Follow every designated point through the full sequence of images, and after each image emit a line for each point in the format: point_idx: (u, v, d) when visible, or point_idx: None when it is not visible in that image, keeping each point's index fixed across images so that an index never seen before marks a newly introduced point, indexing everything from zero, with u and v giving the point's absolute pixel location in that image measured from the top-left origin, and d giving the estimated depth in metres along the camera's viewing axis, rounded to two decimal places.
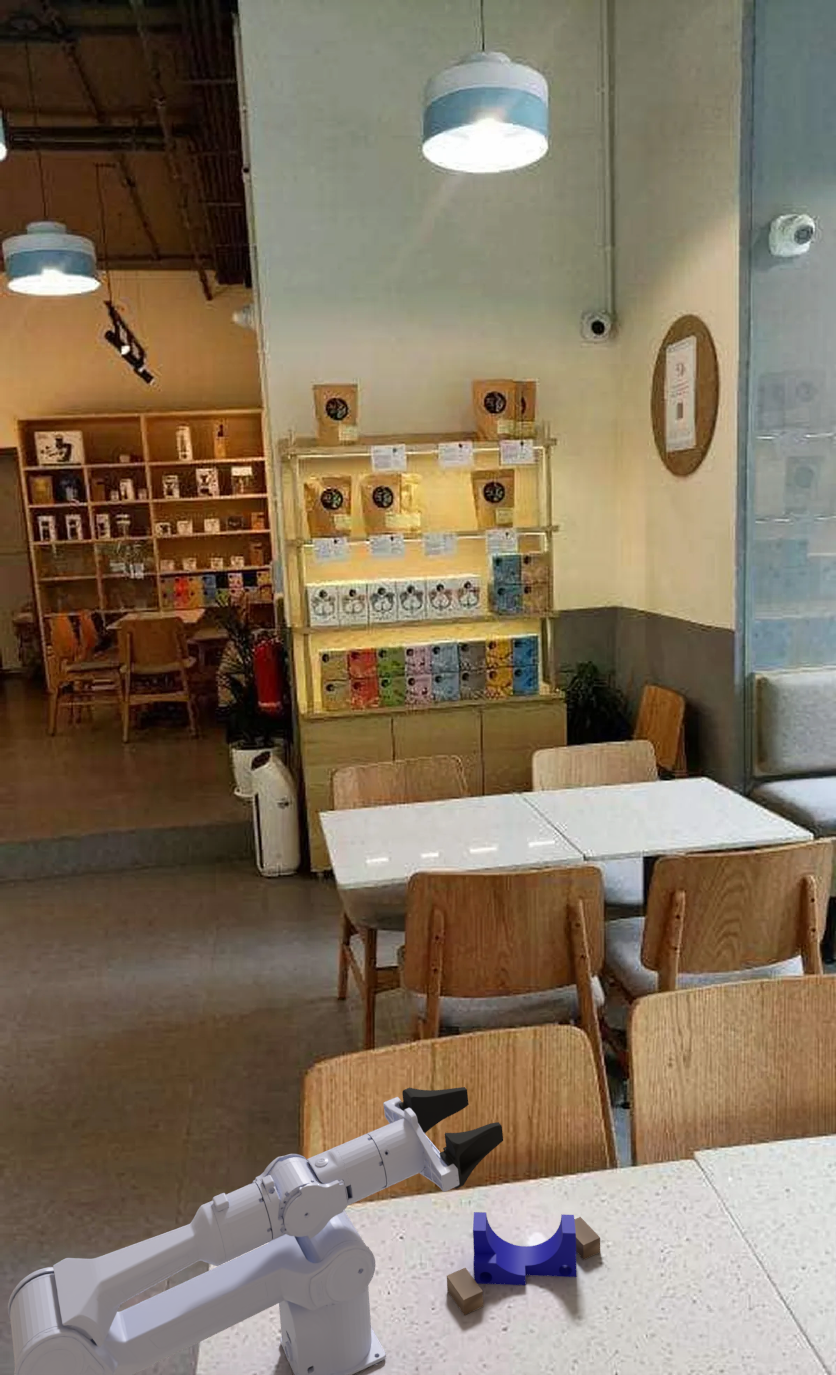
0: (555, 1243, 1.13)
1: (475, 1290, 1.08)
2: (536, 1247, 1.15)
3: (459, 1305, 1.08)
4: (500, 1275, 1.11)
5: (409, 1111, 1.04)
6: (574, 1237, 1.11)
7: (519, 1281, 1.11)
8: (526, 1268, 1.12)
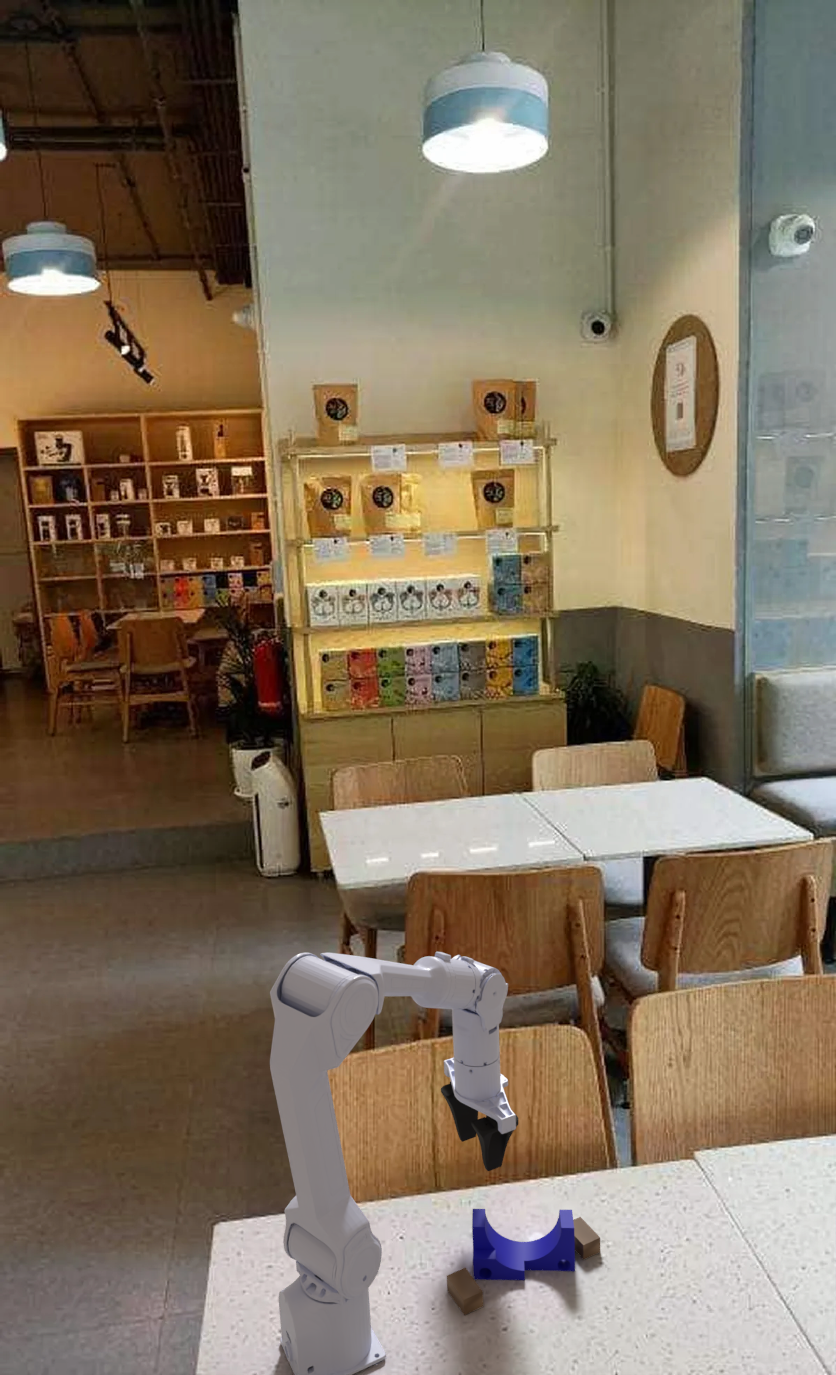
0: (554, 1238, 1.14)
1: (475, 1290, 1.08)
2: (534, 1242, 1.15)
3: (459, 1305, 1.08)
4: (499, 1271, 1.12)
5: None
6: (573, 1232, 1.12)
7: (518, 1277, 1.12)
8: (525, 1263, 1.13)
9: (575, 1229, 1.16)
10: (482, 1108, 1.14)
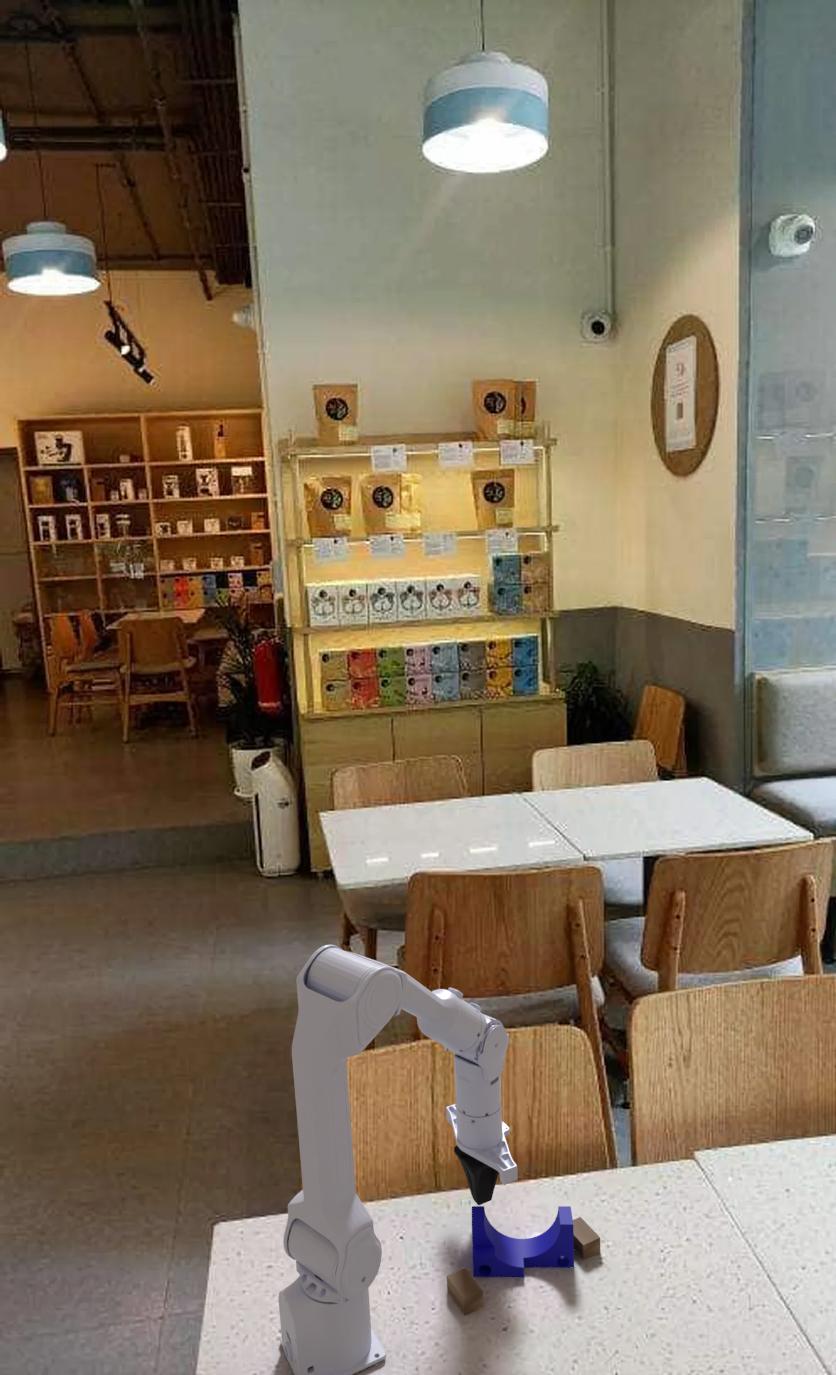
0: (553, 1234, 1.14)
1: (475, 1290, 1.08)
2: (533, 1239, 1.16)
3: (459, 1305, 1.08)
4: (499, 1268, 1.12)
5: None
6: (572, 1228, 1.12)
7: (518, 1273, 1.12)
8: (524, 1260, 1.13)
9: (575, 1229, 1.16)
10: (484, 1158, 1.15)
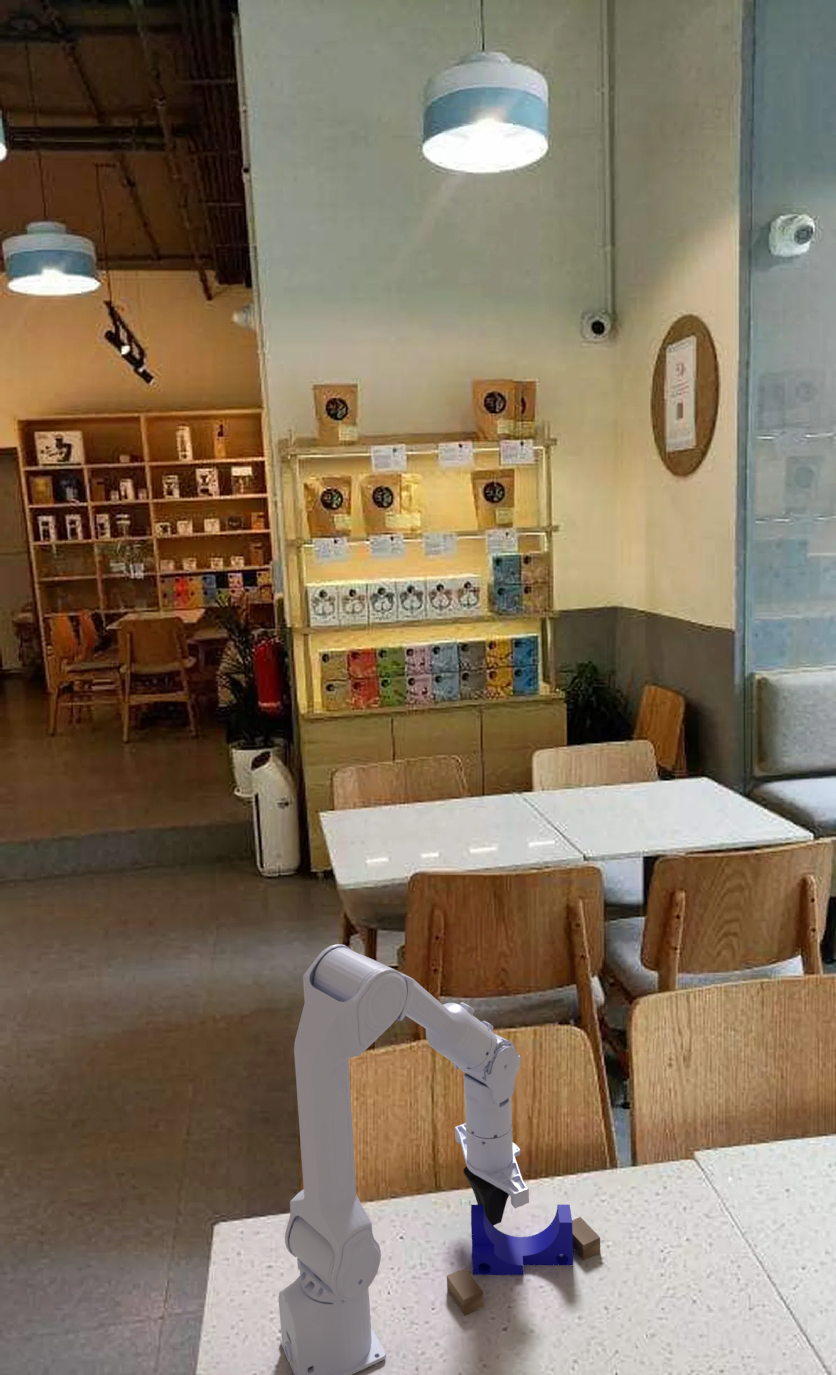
0: (552, 1232, 1.14)
1: (475, 1290, 1.08)
2: (532, 1237, 1.16)
3: (459, 1305, 1.08)
4: (498, 1266, 1.12)
5: None
6: (571, 1226, 1.13)
7: (517, 1271, 1.12)
8: (523, 1258, 1.14)
9: (575, 1229, 1.16)
10: (495, 1181, 1.14)
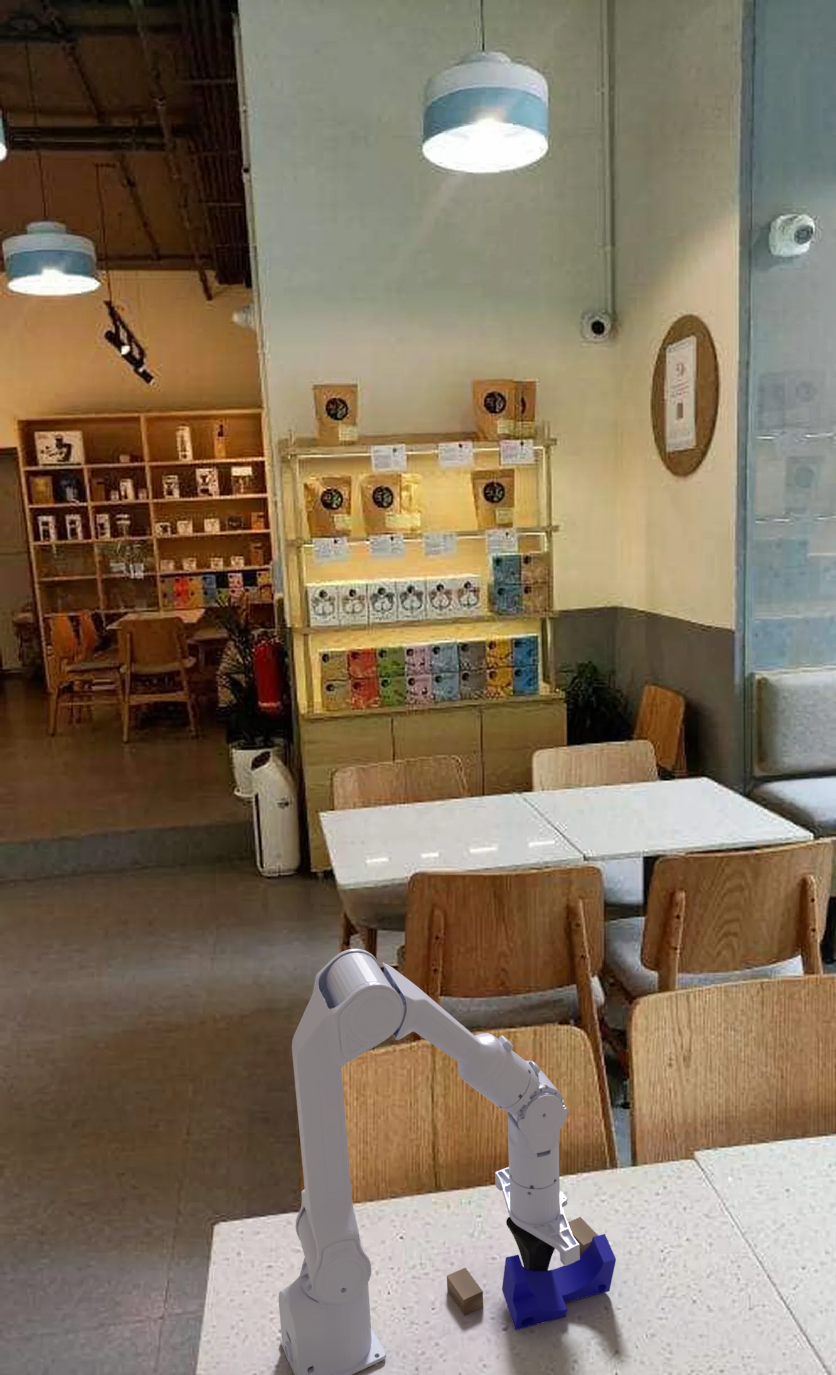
0: (589, 1265, 1.08)
1: (475, 1290, 1.08)
2: (564, 1268, 1.09)
3: (459, 1305, 1.08)
4: (542, 1316, 1.05)
5: None
6: (614, 1262, 1.06)
7: (560, 1315, 1.06)
8: (562, 1297, 1.07)
9: (575, 1229, 1.16)
10: (542, 1235, 1.05)
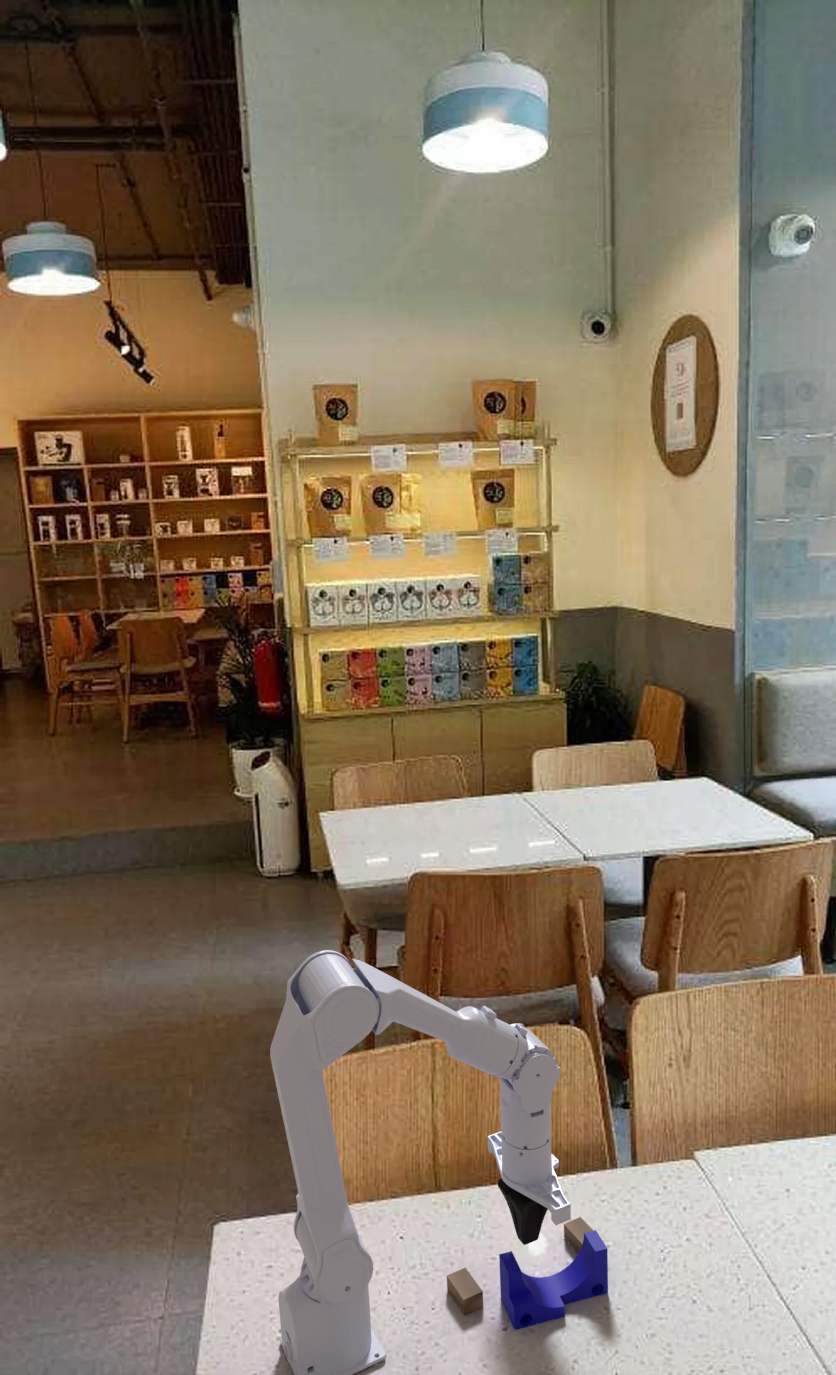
0: (584, 1264, 1.09)
1: (475, 1290, 1.08)
2: (561, 1274, 1.10)
3: (459, 1305, 1.08)
4: (540, 1313, 1.05)
5: None
6: (606, 1253, 1.08)
7: (559, 1314, 1.06)
8: (560, 1298, 1.08)
9: (575, 1229, 1.16)
10: (533, 1195, 1.05)
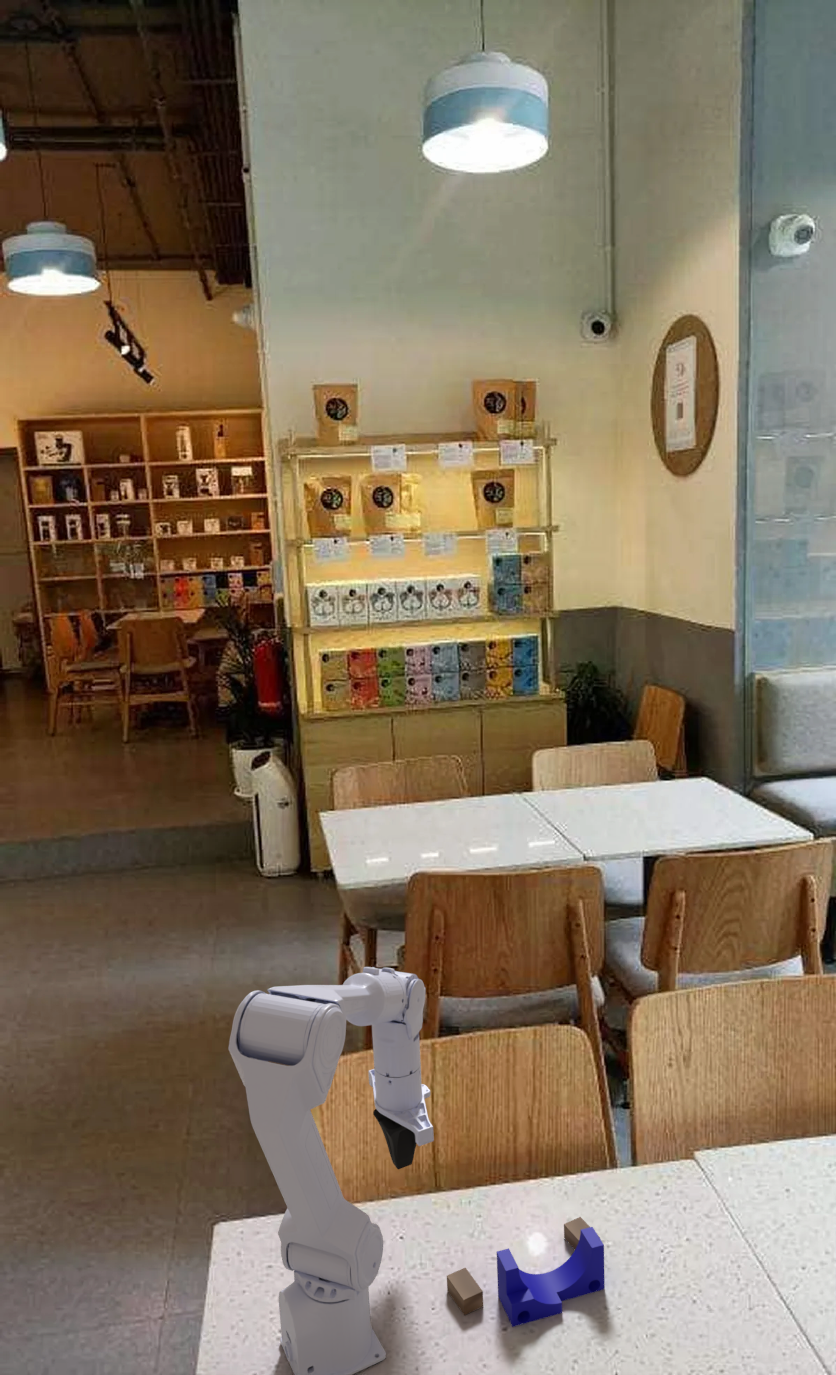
0: (581, 1260, 1.10)
1: (475, 1290, 1.08)
2: (558, 1270, 1.11)
3: (459, 1305, 1.08)
4: (538, 1310, 1.06)
5: None
6: (602, 1249, 1.09)
7: (556, 1311, 1.07)
8: (557, 1295, 1.08)
9: (575, 1229, 1.16)
10: (400, 1120, 1.13)
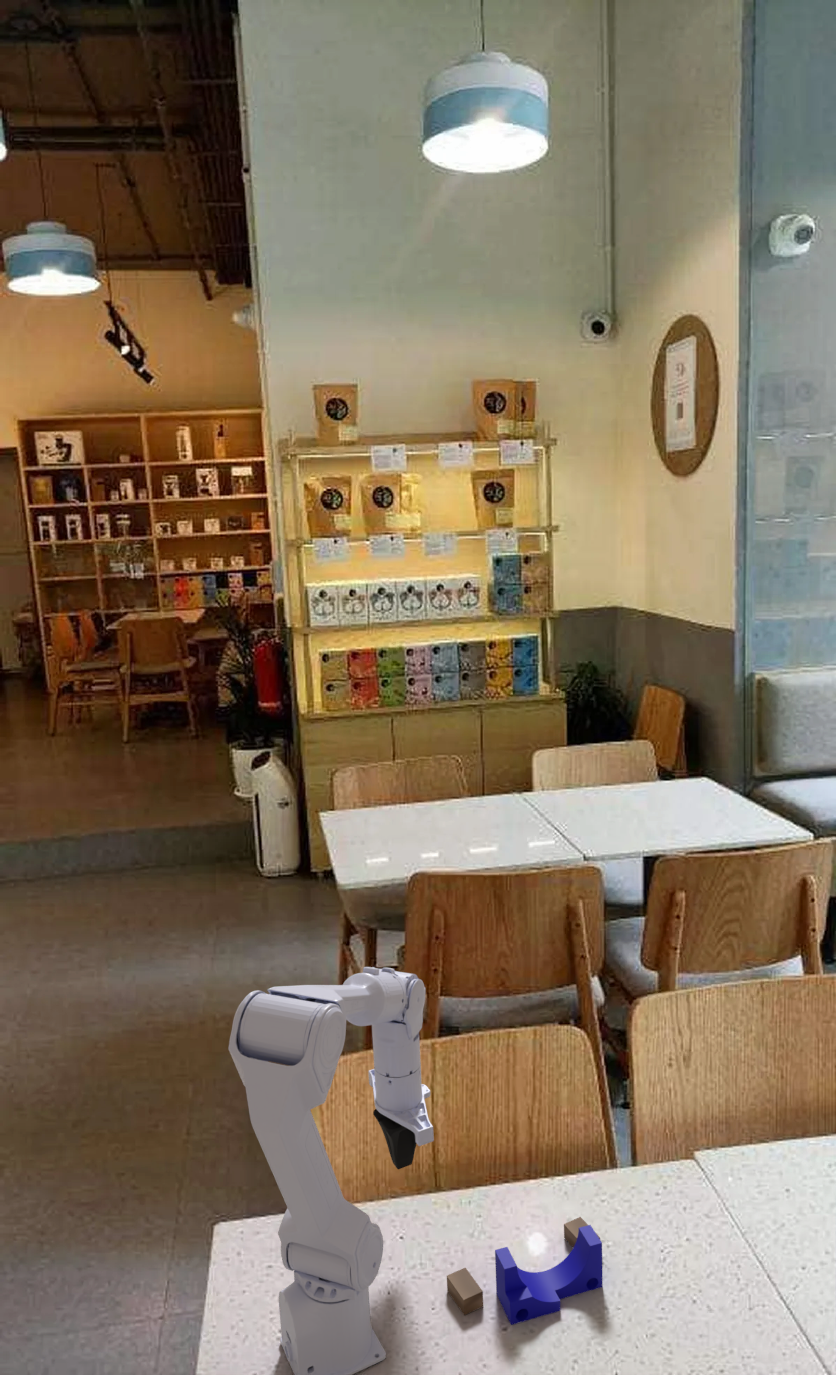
0: (579, 1258, 1.10)
1: (475, 1290, 1.08)
2: (556, 1268, 1.11)
3: (459, 1305, 1.08)
4: (536, 1308, 1.06)
5: None
6: (600, 1247, 1.09)
7: (554, 1308, 1.07)
8: (556, 1293, 1.08)
9: (575, 1229, 1.16)
10: (400, 1120, 1.13)
